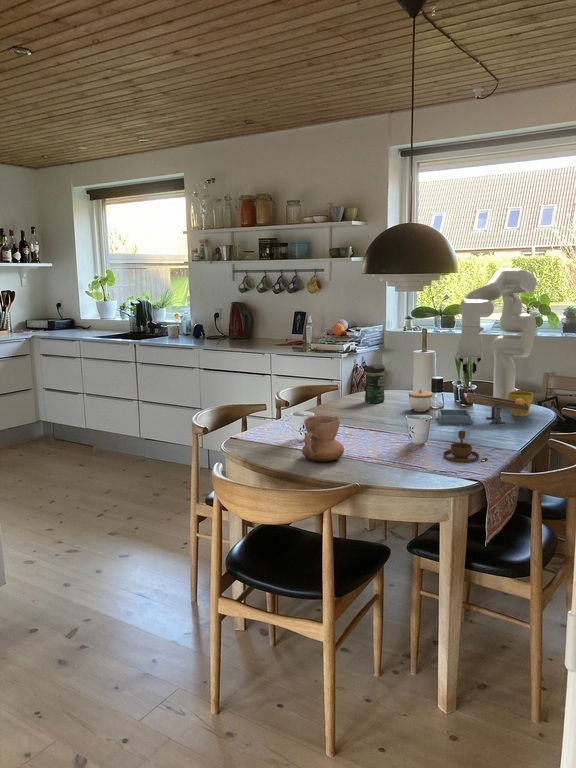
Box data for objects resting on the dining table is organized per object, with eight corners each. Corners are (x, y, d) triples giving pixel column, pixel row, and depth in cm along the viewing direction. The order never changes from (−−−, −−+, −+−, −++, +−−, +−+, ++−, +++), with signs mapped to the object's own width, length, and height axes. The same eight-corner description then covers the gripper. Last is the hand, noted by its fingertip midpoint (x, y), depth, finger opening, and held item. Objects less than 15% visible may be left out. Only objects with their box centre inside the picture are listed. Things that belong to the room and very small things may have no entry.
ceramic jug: (322, 449, 228) (320, 411, 225) (354, 455, 218) (353, 416, 216) (289, 462, 215) (287, 422, 212) (322, 469, 205) (321, 427, 202)
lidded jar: (430, 407, 291) (431, 387, 289) (433, 412, 280) (434, 392, 279) (407, 407, 292) (407, 387, 290) (409, 412, 281) (409, 392, 280)
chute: (463, 395, 274) (465, 387, 273) (519, 405, 271) (521, 397, 270) (467, 402, 259) (469, 394, 258) (526, 413, 256) (528, 404, 255)
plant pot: (503, 412, 277) (504, 391, 275) (526, 412, 277) (527, 390, 275) (512, 418, 266) (513, 395, 265) (536, 417, 267) (537, 395, 265)
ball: (512, 405, 262) (515, 396, 261) (522, 407, 261) (525, 398, 260) (514, 407, 258) (517, 398, 257) (524, 409, 257) (527, 400, 256)
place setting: (428, 457, 216) (429, 441, 215) (458, 445, 230) (458, 430, 229) (475, 468, 204) (475, 450, 203) (503, 454, 218) (504, 438, 217)
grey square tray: (437, 417, 272) (438, 409, 271) (466, 417, 270) (467, 409, 269) (440, 423, 260) (440, 415, 259) (470, 424, 258) (470, 416, 257)
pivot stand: (486, 417, 268) (486, 399, 266) (500, 418, 267) (501, 399, 266) (490, 424, 257) (490, 405, 255) (505, 424, 256) (506, 405, 254)
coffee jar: (374, 404, 299) (374, 366, 296) (362, 402, 305) (362, 364, 301) (387, 401, 305) (387, 364, 302) (375, 399, 311) (375, 362, 308)
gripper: (489, 329, 268) (487, 371, 271) (450, 329, 270) (449, 371, 274) (491, 331, 261) (490, 374, 264) (451, 331, 263) (450, 374, 266)
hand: (469, 372), depth 269 cm, fingers open, 2 cm apart
